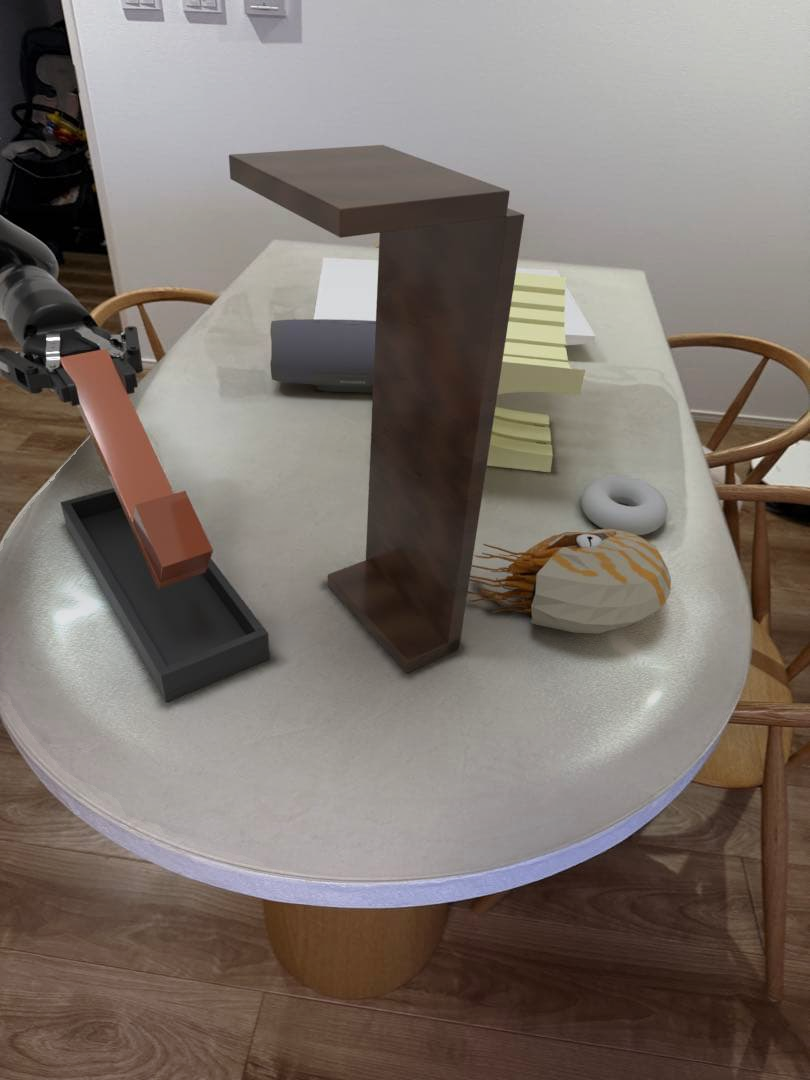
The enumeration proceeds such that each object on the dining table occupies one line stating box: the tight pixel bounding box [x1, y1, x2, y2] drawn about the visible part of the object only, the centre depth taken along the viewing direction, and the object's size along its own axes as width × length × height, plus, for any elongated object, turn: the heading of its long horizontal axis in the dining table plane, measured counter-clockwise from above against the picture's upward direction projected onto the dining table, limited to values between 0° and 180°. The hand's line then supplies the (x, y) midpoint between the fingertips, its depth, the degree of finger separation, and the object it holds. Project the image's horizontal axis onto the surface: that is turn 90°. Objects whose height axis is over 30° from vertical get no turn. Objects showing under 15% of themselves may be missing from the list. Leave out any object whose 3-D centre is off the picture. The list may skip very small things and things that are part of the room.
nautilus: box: [467, 528, 672, 635], centre depth 75 cm, size 8×22×15 cm
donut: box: [580, 474, 669, 536], centre depth 89 cm, size 10×4×10 cm
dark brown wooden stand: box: [228, 144, 525, 674], centre depth 60 cm, size 14×14×40 cm
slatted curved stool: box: [487, 273, 586, 473], centre depth 97 cm, size 30×16×18 cm, turn 174°
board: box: [313, 257, 596, 346], centre depth 135 cm, size 45×32×5 cm
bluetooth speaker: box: [269, 318, 376, 393], centre depth 110 cm, size 23×9×10 cm, turn 94°
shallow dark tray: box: [60, 487, 270, 703], centre depth 74 cm, size 29×10×3 cm, turn 35°
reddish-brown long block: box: [59, 349, 214, 589], centre depth 68 cm, size 24×4×5 cm
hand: (102, 390), depth 70 cm, fingers closed on reddish-brown long block, 4 cm apart
